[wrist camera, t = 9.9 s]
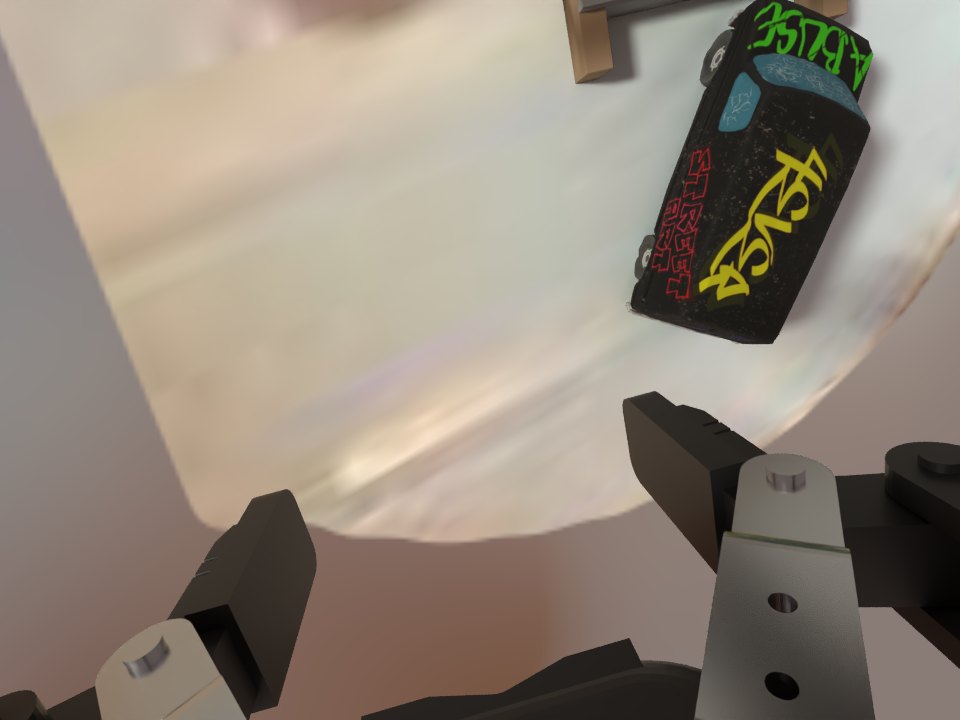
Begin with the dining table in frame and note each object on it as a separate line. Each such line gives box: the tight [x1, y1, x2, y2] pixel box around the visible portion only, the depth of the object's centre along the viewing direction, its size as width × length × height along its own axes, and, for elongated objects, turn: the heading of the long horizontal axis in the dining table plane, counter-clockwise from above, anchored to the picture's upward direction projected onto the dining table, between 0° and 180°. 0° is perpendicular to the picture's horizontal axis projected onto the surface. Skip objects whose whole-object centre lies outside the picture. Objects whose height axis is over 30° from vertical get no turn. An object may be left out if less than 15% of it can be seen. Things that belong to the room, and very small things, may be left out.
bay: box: [563, 0, 848, 83], centre depth 38 cm, size 6×21×4 cm, turn 103°
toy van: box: [626, 0, 873, 344], centre depth 39 cm, size 11×25×10 cm, turn 164°
